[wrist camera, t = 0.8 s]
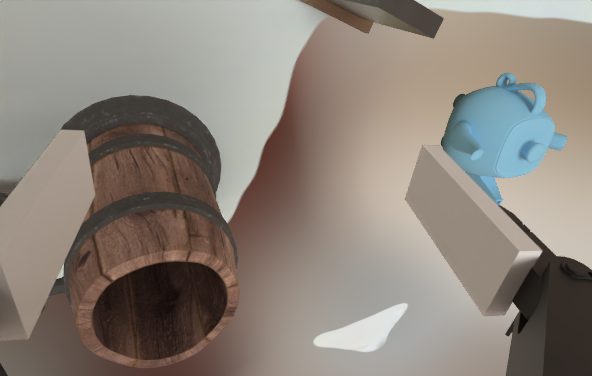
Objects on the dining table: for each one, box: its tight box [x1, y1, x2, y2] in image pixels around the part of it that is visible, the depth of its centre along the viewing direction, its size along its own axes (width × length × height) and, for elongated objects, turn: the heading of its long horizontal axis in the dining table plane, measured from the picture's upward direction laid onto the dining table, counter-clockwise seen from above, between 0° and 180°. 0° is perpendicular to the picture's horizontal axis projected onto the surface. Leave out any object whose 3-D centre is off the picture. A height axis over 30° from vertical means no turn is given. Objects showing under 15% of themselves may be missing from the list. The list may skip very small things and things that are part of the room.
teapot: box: [441, 73, 567, 205], centre depth 52 cm, size 15×14×11 cm
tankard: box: [0, 95, 239, 368], centre depth 33 cm, size 24×17×20 cm
